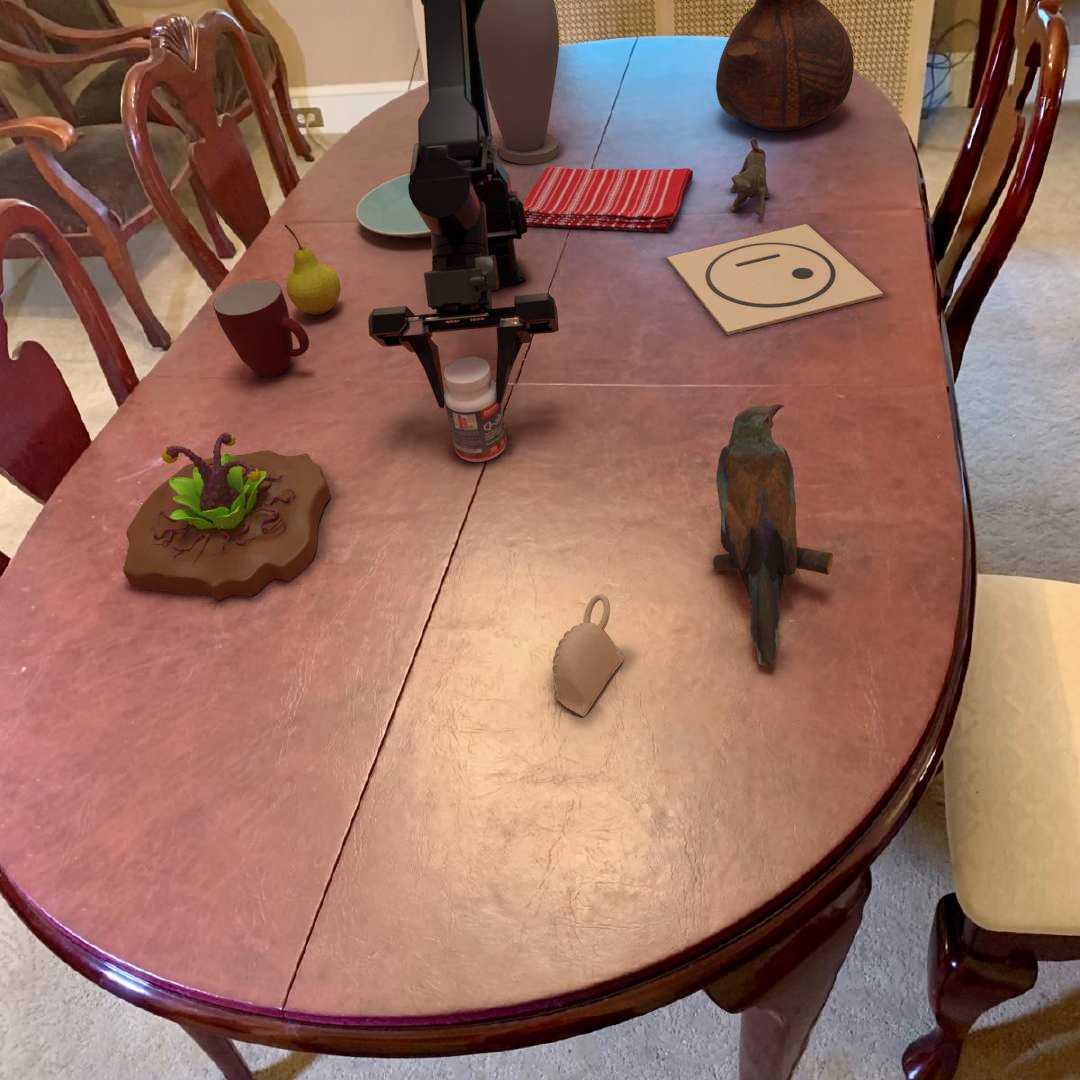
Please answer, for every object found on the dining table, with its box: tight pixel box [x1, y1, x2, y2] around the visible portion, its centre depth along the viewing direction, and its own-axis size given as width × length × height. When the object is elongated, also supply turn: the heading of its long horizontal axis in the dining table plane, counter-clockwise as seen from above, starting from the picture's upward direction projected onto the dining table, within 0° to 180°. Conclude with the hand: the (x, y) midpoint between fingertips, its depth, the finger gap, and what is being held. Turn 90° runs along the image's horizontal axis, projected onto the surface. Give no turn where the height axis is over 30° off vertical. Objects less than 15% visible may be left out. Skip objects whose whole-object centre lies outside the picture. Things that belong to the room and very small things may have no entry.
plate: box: [355, 172, 431, 239], centre depth 142 cm, size 22×22×3 cm
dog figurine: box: [730, 136, 771, 216], centre depth 131 cm, size 12×6×7 cm, turn 165°
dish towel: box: [522, 166, 694, 233], centre depth 138 cm, size 17×24×3 cm
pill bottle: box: [443, 356, 508, 463], centre depth 97 cm, size 6×6×10 cm
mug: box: [212, 279, 310, 378], centre depth 113 cm, size 10×8×10 cm
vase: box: [477, 0, 560, 165], centre depth 143 cm, size 13×13×35 cm
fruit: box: [284, 223, 342, 316], centre depth 121 cm, size 7×7×12 cm
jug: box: [715, 0, 855, 132], centre depth 144 cm, size 22×22×30 cm
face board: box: [666, 223, 884, 336], centre depth 119 cm, size 20×20×1 cm
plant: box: [122, 432, 332, 601], centre depth 92 cm, size 20×20×11 cm
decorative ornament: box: [552, 593, 625, 718], centre depth 76 cm, size 4×8×5 cm, turn 146°
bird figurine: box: [712, 403, 834, 666], centre depth 79 cm, size 13×10×20 cm
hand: (470, 405), depth 95 cm, fingers closed on pill bottle, 6 cm apart
